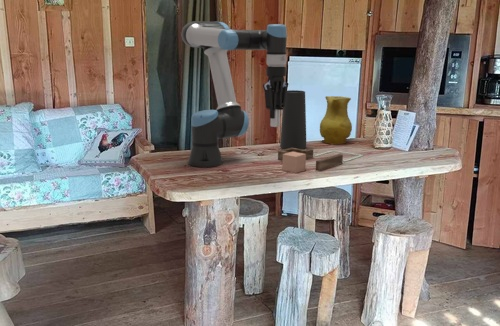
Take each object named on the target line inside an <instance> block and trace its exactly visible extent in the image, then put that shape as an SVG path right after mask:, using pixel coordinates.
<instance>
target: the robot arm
mask: <svg viewBox="0 0 500 326" xmlns="http://www.w3.org/2000/svg"><path fill="white" fill-rule="evenodd" d="M287 31H288V30H287V26H286V25H285V24H277V23H276V24H275V23H274V24H267V25H266V29H262V30H261V29H257V30H256V29H231V28H230V27H229V25H228V24H226V23H225V22H222V21H221V22H220V21H202V20H201V21H199V20H194V21H190V22H188V23H186V24H184V26H183V28H182V29H181V39H182V42H184V44H185V45H187V46H189V47H190V48H196V49H197V48H198V49H203V53H204V55H206V56H207V57H208V62H209V67H210V71H211V77H212V82H213V88H214V92H215V98H216V101H217V107H216V109H205V110H204V109H203V110H199V111H196V112H194V113H193V114H192V115H191V119H190V120H191V123H190V126H191V127H190V129H191V149H190V153H189V157H188V158H187V159H188V161H187V162H188V165H190V166H192V167H197V168H211V167H217V166H220V165H222V164H223V156H222V154H221V151H220V147H219V139H228V138H238V137H241V136H244V135H245V134H246V133H247V131H248V129H249V124H250V123H249V121H250V118H249V114H248V113H247V112H246V111H245V110H243V109H242V105H240V104H239V103H238V102H237V98H236V93H235V88H234V83H233V80H232V79H233V78H232V74H231V70H230V69H231V68H230V64H229V58H228V54H227V53H228V51H239V50H241V51H247V50H249V51H250V50H251V51H253V50H255V51H264V50H265V51H266V61H265V62H266V65H267V67H266V74H265V75H266V77H268V78H267V82H266V83H265V84H263V85H262V87H263V91H264V98H265V108H266V109H267V110H269V118H270V124H269V125H270V126H269V127H271V128H273V127H274V128H277V127H281V118H282V111H283V107H285V101H286V93H287V91H288V88H289V86H290V85H289V83H288V82H285V78H284V77H286V75H287V67H286V65H287V42H288V38H287V37H288V35H287V34H288V32H287Z"/></svg>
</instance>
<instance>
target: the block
mask: <svg viewBox="0 0 500 326" xmlns="http://www.w3.org/2000/svg"><path fill="white" fill-rule="evenodd" d="M306 164H307V160H306V154H303V153H298V152H289V153H285V154H283V160H282V168H281V169H282V171H285V172H290V173H295V174H297V173H299V172H303V171H306V166H307V165H306Z"/></svg>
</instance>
